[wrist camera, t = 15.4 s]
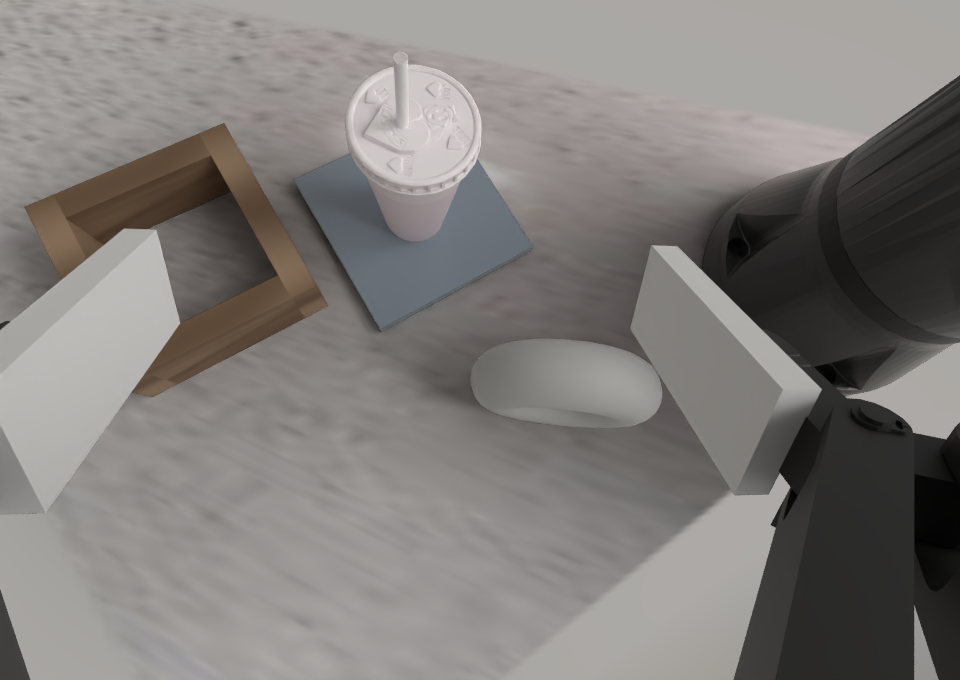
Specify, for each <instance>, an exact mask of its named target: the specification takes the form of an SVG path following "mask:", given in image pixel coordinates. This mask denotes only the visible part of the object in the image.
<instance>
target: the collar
mask: <svg viewBox="0 0 960 680" xmlns="http://www.w3.org/2000/svg"><path fill="white" fill-rule="evenodd" d="M230 191H231V192H232V194H233V196H234V197H235V199H236V201H237V203H238V205H239V206H240V208H241V210H242V212H243V213H244V215H245V217H246V219H247V221H248V222H249V224H250V226H251V228H252V229H253V231H254V233H255V235H256V237H257V238H258V240H259V242H260V244H261V245H262V247H263V249H264V251H265V253H266V254H267V256H268V258H269V260H270V262H271V263H272V265H273V267H274V269H275V270H276V272H277V274H278V275H277V276H275V277H273V278H271V279H269V280H267V281H265V282H263V283H261V284H259V285H257V286H255V287H253V288H251V289H249V290H247V291H245V292H243V293H241V294H239V295H237V296H235V297H233V298H231V299H229V300H227V301H225V302H223V303H221V304H219V305H217V306H215V307H213V308H211V309H209V310H207V311H205V312H202V313H200V314H198V315H196V316H194V317H192V318H190V319H188V320H186V321H184V322H182V323H180V324H179V326H178V327H177V329H176V330H175V331H174V333H173V334H172V336H171V337H170V338H169V340H168V341H167V343H166V344H165V346H164V347H163V348H162V350H161V351H160V353H159V354H158V355H157V357H156V358H155V360H154V361H153V362H152V364H151V365H150V367H149V368H148V370H147V371H146V372H145V374H144V375H143V377H142V378H141V379H140V381H139V382H138V384H137V385H136V387H135V388H134V389H133V391H132V392H134V393H138V394H142V395H146V396H150V397H153V396H155V395H157V394H159V393H161V392H163V391H165V390H167V389H169V388H171V387H172V386H174V385H176V384H178V383H180V382H182V381H184V380H186V379H188V378H190V377H192V376H194V375H196V374H198V373H200V372H201V371H203V370H205V369H207V368H209V367H211V366H213V365H215V364H217V363H219V362H221V361H223V360H225V359H227V358H229V357H230V356H232V355H234V354H236V353H238V352H240V351H242V350H244V349H246V348H248V347H250V346H252V345H254V344H256V343H258V342H259V341H261V340H263V339H265V338H267V337H269V336H271V335H273V334H275V333H277V332H279V331H281V330H283V329H285V328H287V327H288V326H290V325H292V324H294V323H296V322H298V321H300V320H302V319H304V318H306V317H308V316H310V315H312V314H314V313H316V312H317V311H319V310H321V309H323V308H325V307H327V306H328V305H327V303H326V302H325V300H324V298H323V296H322V294H321V292H320V290H319V289H318V287H317V285H316V283H315V281H314V280H313V278H312V276H311V274H310V273H309V271H308V269H307V267H306V266H305V264H304V262H303V260H302V259H301V257H300V255H299V253H298V252H297V250H296V248H295V246H294V245H293V243H292V241H291V239H290V238H289V236H288V234H287V232H286V231H285V229H284V227H283V225H282V223H281V222H280V220H279V218H278V216H277V215H276V213H275V211H274V209H273V208H272V206H271V204H270V202H269V201H268V199H267V197H266V195H265V194H264V192H263V190H262V188H261V187H260V185H259V183H258V181H257V180H256V178H255V176H254V174H253V173H252V171H251V169H250V167H249V166H248V164H247V162H246V160H245V159H244V157H243V155H242V153H241V152H240V150H239V148H238V146H237V145H236V143H235V141H234V139H233V138H232V136H231V134H230V132H229V131H228V129H227V127H226V125H225V124H224V123H223V124H221V125H218V126H216V127H213V128H211V129H209V130H206V131H204V132H202V133H199V134H197V135H194V136H192V137H190V138H187V139H185V140H183V141H180V142H178V143H175V144H173V145H171V146H168V147H166V148H163V149H161V150H159V151H156V152H154V153H152V154H149V155H147V156H144V157H142V158H140V159H137V160H135V161H133V162H130V163H128V164H125V165H123V166H121V167H118V168H116V169H114V170H111V171H109V172H106V173H104V174H102V175H99V176H97V177H94V178H92V179H90V180H87V181H85V182H83V183H80V184H78V185H75V186H73V187H71V188H68V189H66V190H64V191H61V192H59V193H56V194H54V195H52V196H49V197H47V198H45V199H42V200H40V201H37V202H35V203H33V204H30V205H28V206H25V209H26V211H27V213H28V215H29V217H30V219H31V221H32V223H33V225H34V227H35V229H36V231H37V233H38V235H39V237H40V239H41V241H42V243H43V245H44V247H45V249H46V251H47V253H48V255H49V257H50V259H51V261H52V263H53V265H54V267H55V269H56V271H57V273H58V275H59V277H60V279H61V280H62V279H63V278H65V277H66V276H67V275H68V274H69V273H71V272H72V271H73V270H74V269H75V268H77V267H78V266H79V265H80V264H82V263H83V262H84V261H85V260H86V259H88V258H89V257H90V256H91V255H93V254H94V253H95V252H96V251H97V250H99V249H100V248H101V247H102V246H104V245H105V244H106V243H107V242H108V241H110V240H111V239H112V238H113V237H115V236H116V235H117V234H118V233H119V232H121V231H122V230H123V229H148V228H150V227H152V226H154V225H157V224H159V223H161V222H163V221H166V220H168V219H170V218H172V217H174V216H177V215H179V214H181V213H183V212H186V211H188V210H190V209H192V208H194V207H197V206H199V205H201V204H203V203H206V202H208V201H210V200H212V199H215V198H217V197H219V196H221V195H223V194H226V193H228V192H230Z"/></svg>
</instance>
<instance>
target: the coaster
mask: <svg viewBox="0 0 960 680" xmlns="http://www.w3.org/2000/svg"><path fill="white" fill-rule="evenodd" d="M294 182H295V184H296V186H297V188H298V190H299V191H300V193H301V195H302V197H303V198H304V200H305V202H306V203H307V205H308V207H309V209H310V210H311V212H312V214H313V215H314V217H315V219H316V221H317V222H318V224H319V226H320V228H321V229H322V231H323V233H324V234H325V236H326V238H327V240H328V241H329V243H330V245H331V246H332V248H333V250H334V252H335V253H336V255H337V257H338V259H339V260H340V262H341V264H342V265H343V267H344V269H345V271H346V272H347V274H348V276H349V277H350V279H351V281H352V283H353V284H354V286H355V288H356V289H357V291H358V293H359V295H360V296H361V298H362V300H363V302H364V303H365V305H366V307H367V308H368V310H369V312H370V314H371V315H372V317H373V319H374V320H375V322H376V324H377V326H378V327H379V329H380V331H381V332H382V331H384V330H386V329H388V328H389V327H391V326H393V325H395V324H397V323H399V322H400V321H402V320H404V319H406V318H408V317H410V316H412V315H413V314H415V313H417V312H419V311H421V310H423V309H424V308H426V307H428V306H430V305H432V304H434V303H436V302H437V301H439V300H441V299H443V298H445V297H447V296H449V295H450V294H452V293H454V292H456V291H458V290H460V289H461V288H463V287H465V286H467V285H469V284H471V283H473V282H474V281H476V280H478V279H480V278H482V277H484V276H486V275H487V274H489V273H491V272H493V271H495V270H497V269H498V268H500V267H502V266H504V265H506V264H508V263H510V262H511V261H513V260H515V259H517V258H519V257H521V256H523V255H524V254H526V253H528V252H530V251H531V249H532V247H533V246H532V244H531V243H530V241H529V240H528V238H527V236H526V235H525V233H524V232H523V230H522V229H521V227H520V225H519V224H518V222H517V221H516V219H515V218H514V216H513V214H512V213H511V211H510V210H509V208H508V207H507V205H506V203H505V202H504V200H503V199H502V197H501V196H500V194H499V192H498V191H497V189H496V188H495V186H494V185H493V183H492V181H491V180H490V178H489V177H488V175H487V174H486V172H485V170H484V169H483V167H482V166H481V164H480V163H479V161H478V159H477V160H476V163H475V165H474V166H473V167H472V169H471V170H470V171H469V173H468V174H467V175H466V177H465V178H463V179H462V180H461V181H460V184H459V186H458V188H457V191H456V193H455V195H454V198H453V200H452V202H451V204H450V207H449V209H448V211H447V214H446V216H445V218H444V221H443V223H442V225H441V227H440V229H439V230H438V232H437V233H436V234H435V235H434V236H432V237H431V238H429V239H427V240H424V241H419V242H411V241H406V240H403V239H401V238H399V237H398V236H396V235H395V234H394V233H393V232H392V231H391V230H390V229H389V227H388V225H387V223H386V221H385V218H384V216H383V214H382V211H381V209H380V206H379V204H378V202H377V199H376V197H375V195H374V192H373V190H372V188H371V185H370V183H369V181H368V178H367V177H366V175H365V174H364V173H363V172H362V171H361V170H360V169H359V168H358V167H357V165H356V164H355V162H354V160H353V158H352V156H351V154H348V155H346V156H344V157H342V158H340V159H337V160H335V161H333V162H331V163H329V164H326V165H324V166H322V167H320V168H318V169H315V170H313V171H311V172H309V173H307V174H305V175H302V176H300V177H298V178H296V179H294Z"/></svg>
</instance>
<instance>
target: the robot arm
mask: <svg viewBox="0 0 960 680" xmlns="http://www.w3.org/2000/svg"><path fill="white" fill-rule="evenodd" d="M179 324H180V320H179V316H178V312H177V309H176V305H175V301H174V297H173V293H172V289H171V285H170V281H169V277H168V273H167V269H166V265H165V261H164V257H163V253H162V249H161V245H160V242H159V238H158V234H157V230H151V229H123V230H122V231H121V232H119V233H118V234H117V235H116V236H115V237H113V238H112V239H111V240H110V241H108V242H107V243H106V244H105V245H104V246H102V247H101V248H100V249H99V250H97V251H96V252H95V253H94V254H93V255H91V256H90V257H89V258H88V259H86V260H85V261H84V262H83V263H82V264H80V265H79V266H78V267H77V268H75V269H74V270H73V271H72V272H71V273H69V274H68V275H67V276H66V277H65V278H63V279H62V280H61V281H60V282H58V283H57V284H56V285H55V286H54V287H52V288H51V289H50V290H49V291H47V292H46V293H45V294H44V295H43V296H41V297H40V298H39V299H38V300H36V301H35V302H34V303H33V304H32V305H30V306H29V307H28V308H27V309H25V310H24V311H23V312H22V313H21V314H19V315H18V316H17V317H16V318H14V319H13V320H12V321H5V322H3V323H1V324H0V514H37V513H46V512H47V511H48V509H49V508H50V507H51V505H52V504H53V502H54V501H55V500H56V498H57V497H58V495H59V494H60V493H61V491H62V490H63V488H64V487H65V485H66V484H67V483H68V481H69V480H70V478H71V477H72V476H73V474H74V473H75V471H76V470H77V468H78V467H79V466H80V464H81V463H82V461H83V460H84V459H85V457H86V456H87V454H88V453H89V452H90V450H91V449H92V447H93V446H94V444H95V443H96V442H97V440H98V439H99V437H100V436H101V435H102V433H103V432H104V430H105V429H106V428H107V426H108V425H109V423H110V422H111V420H112V419H113V418H114V416H115V415H116V413H117V412H118V411H119V409H120V408H121V406H122V405H123V403H124V402H125V401H126V399H127V398H128V396H129V395H130V394H131V392H132V391H133V389H134V388H135V387H136V385H137V384H138V382H139V381H140V379H141V378H142V377H143V375H144V374H145V372H146V371H147V370H148V368H149V367H150V365H151V364H152V362H153V361H154V360H155V358H156V357H157V355H158V354H159V353H160V351H161V350H162V348H163V347H164V346H165V344H166V343H167V341H168V340H169V338H170V337H171V336H172V334H173V333H174V331H175V330H176V329H177V327H178V326H179ZM630 329H631V331H632V333H633V334H634V336H635V337H636V339H637V341H638V342H639V344H640V345H641V347H642V349H643V350H644V352H645V353H646V355H647V357H648V358H649V360H650V361H651V363H652V365H653V366H654V368H655V369H656V371H657V373H658V374H659V376H660V377H661V379H662V381H663V382H664V384H665V385H666V387H667V389H668V390H669V392H670V393H671V395H672V396H673V398H674V400H675V401H676V403H677V404H678V406H679V408H680V409H681V411H682V412H683V414H684V416H685V417H686V419H687V420H688V422H689V424H690V425H691V427H692V428H693V430H694V432H695V433H696V435H697V436H698V438H699V440H700V441H701V443H702V444H703V446H704V448H705V449H706V451H707V452H708V454H709V456H710V457H711V459H712V460H713V462H714V464H715V465H716V467H717V468H718V470H719V471H720V473H721V475H722V476H723V478H724V479H725V481H726V483H727V484H728V486H729V487H730V489H731V491H732V492H733V494H734V495H762V494H769V493H770V491H771V489H772V487H773V485H774V483H775V481H776V479H777V477H778V475H779V473H781V475H782V476H783V477H784V479H785V480H786V481H787V482H788V484H789V485H790V489H789V492H788V493H787V495H786V497H785V499H784V501H783V502H782V504H781V506H780V508H779V510H778V512H777V514H776V516H775V518H774V519H773V521H772V523H771V525H772V526H774V527H776V530H775V533H774V537H773V541H772V544H771V548H770V551H769V555H768V559H767V562H766V566H765V569H764V573H763V576H762V580H761V584H760V587H759V591H758V594H757V598H756V602H755V605H754V609H753V612H752V616H751V619H750V623H749V627H748V630H747V634H746V637H745V641H744V645H743V648H742V652H741V655H740V659H739V663H738V667H737V670H736V673H735V677H734V680H914V605H915V608H916V611H917V614H918V617H919V621H920V624H921V627H922V630H923V633H924V636H925V639H926V642H927V645H928V648H929V651H930V654H931V657H932V661H933V664H934V667H935V669H936V673H937V676H938V679H939V680H960V423H959V424H958V425H957V426H956V427H955V428H954V430H953V431H952V432H951V434H950V435H949V437H948V438H947V440H946V439H941V438H936V437H931V436H926V435H921V434H916V433H913V431H912V428H911V427H910V426H909V424H908V423H907V422H906V421H905V420H904V419H903V418H901V417H900V416H898V415H897V414H895V413H894V412H892V411H891V410H889V409H887V408H884V407H882V406H880V405H877V404H875V403H872V402H868V401H865V400H861V399H849V398H846V397H845V396H846V395H852V394H858V393H864V392H868V391H872V390H875V389H878V388H880V387H883V386H885V385H888V384H890V383H892V382H894V381H895V380H897V379H899V378H900V377H902V376H903V375H905V374H906V373H908V372H910V371H911V370H913V369H914V368H916V367H918V366H919V365H921V364H922V363H924V362H926V361H927V360H928V359H930V358H932V357H934V356H935V355H937V354H938V353H940V352H941V351H943V350H945V349H946V348H948V347H949V346H951V345H952V344H955V343H958V342H960V76H958V77H957V78H956V79H954V80H953V81H951V82H950V83H949V84H947V85H946V86H944V87H943V88H942V89H940V90H939V91H938V92H936V93H935V94H933V95H932V96H930V97H929V98H928V99H926V100H925V101H923V102H922V103H920V104H919V105H918V106H916V107H915V108H913V109H912V110H911V111H909V112H908V113H907V114H905V115H904V116H902V117H901V118H899V119H898V120H897V121H895V122H893V123H892V124H891V125H889V126H888V127H886V128H885V129H883V130H882V131H880V132H879V133H878V134H876V135H875V136H873V137H872V138H870V139H869V140H868V141H866V142H865V143H864V144H862V145H861V146H860V147H858V148H857V149H855V150H854V151H852V152H851V153H850V154H848V155H847V156H845V157H843V158H839V159H836V160H833V161H829V162H826V163H822V164H819V165H815V166H812V167H809V168H805V169H802V170H798V171H795V172H792V173H788V174H785V175H782V176H778V177H776V178H773V179H771V180H769V181H767V182H765V183H763V184H761V185H759V186H757V187H756V188H754V189H753V190H751V191H750V192H749V193H748V194H746V195H745V196H744V197H743V198H741V199H740V200H739V201H738V202H736V203H735V204H734V205H733V206H731V207H730V208H729V209H728V210H727V211H726V212H725V213H724V214H723V215H722V217H721V218H720V219H719V221H718V222H717V224H716V225H715V227H714V229H713V231H712V233H711V235H710V237H709V239H708V242H707V245H706V249H705V253H704V259H703V271H702V270H701V269H700V268H699V267H698V266H697V265H696V264H695V263H694V262H693V261H692V260H691V259H690V258H689V257H688V256H687V255H686V254H685V253H684V252H683V251H682V250H681V249H680V248H679V247H678V246H656V245H651V249H650V253H649V257H648V261H647V265H646V269H645V273H644V276H643V280H642V284H641V288H640V292H639V296H638V300H637V304H636V308H635V312H634V316H633V320H632V323H631V327H630ZM0 680H30V678H29V675H28V672H27V669H26V666H25V663H24V660H23V657H22V654H21V651H20V648H19V645H18V642H17V639H16V636H15V633H14V630H13V627H12V624H11V621H10V618H9V615H8V612H7V609H6V606H5V603H4V600H3V597H2V594H1V591H0Z"/></svg>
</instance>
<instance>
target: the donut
mask: <svg viewBox="0 0 960 680" xmlns="http://www.w3.org/2000/svg"><path fill="white" fill-rule="evenodd" d="M471 386H472V390H473V393H474V395H475V398H476V399H477V401H478V402H479V403H480V404H481V406H483V407H484V408H486V409H488V410H489V411H491V412H493V413H495V414H498V415H501V416H505V417H509V418H513V419H518V420H523V421H528V422H535V423H541V424H549V425H558V426H568V427H582V428H622V427H630V426H634V425H637V424H639V423H642V422H644V421H647V420H648V419H649V418H651V417H652V416H653V415H654V414H655V413H656V412H657V410H658V408H659V407H660V405H661V401H662V396H663V394H662V386H661V381H660V378H659V376H658V374H657V372H656V370H655V368H654V367H653V366H651V365H650V364H649V363H648V362H647V361H645V360H644V359H642V358H641V357H639V356H637V355H635V354H633V353H631V352H629V351H626V350H623V349H620V348H616V347H613V346H609V345H604V344H599V343H594V342H588V341H578V340H568V339H526V340H516V341H512V342H508V343H504V344H500V345H497V346H494V347H492V348H491V349H489V350H488V351H486V352H485V353H484V354H482V355H481V356H480V357H479V358H478V359H477V361H476V362H475V363H474V365H473V368H472V371H471Z"/></svg>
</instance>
